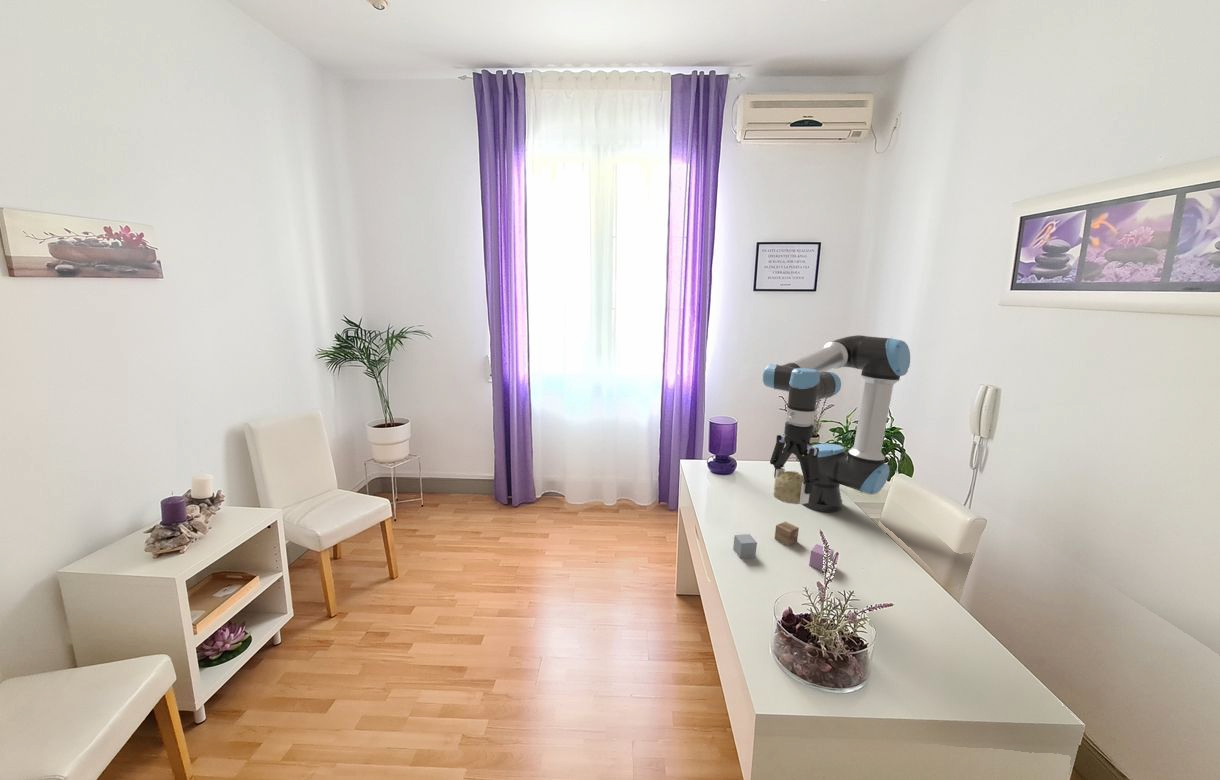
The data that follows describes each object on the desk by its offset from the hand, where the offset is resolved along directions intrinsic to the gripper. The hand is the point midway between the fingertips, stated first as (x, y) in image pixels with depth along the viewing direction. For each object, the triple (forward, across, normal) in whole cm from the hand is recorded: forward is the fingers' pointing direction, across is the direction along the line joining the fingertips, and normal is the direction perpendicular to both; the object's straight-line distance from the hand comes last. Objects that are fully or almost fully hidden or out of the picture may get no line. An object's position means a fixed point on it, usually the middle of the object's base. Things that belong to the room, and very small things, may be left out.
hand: (790, 495), depth 145 cm
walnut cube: (+21, -8, +9) cm, 24 cm away
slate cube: (+21, -7, -9) cm, 24 cm away
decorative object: (+1, 0, 0) cm, 1 cm away
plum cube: (+21, +7, +8) cm, 23 cm away
